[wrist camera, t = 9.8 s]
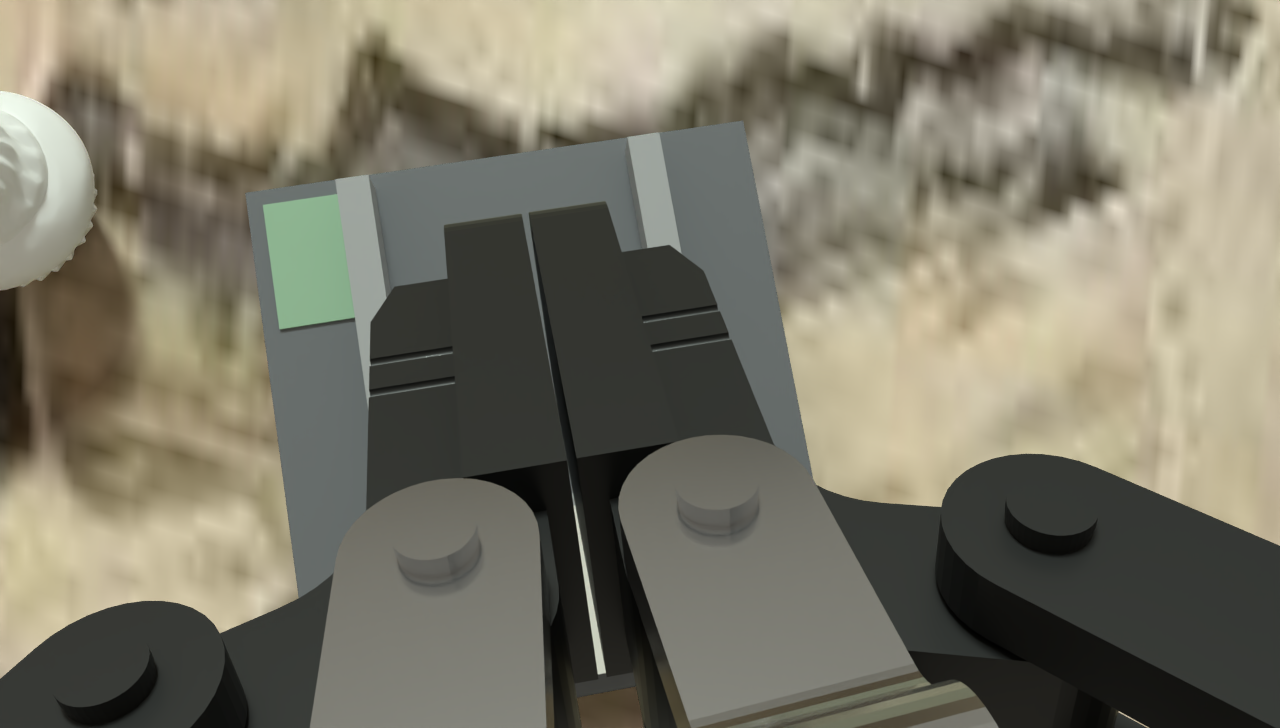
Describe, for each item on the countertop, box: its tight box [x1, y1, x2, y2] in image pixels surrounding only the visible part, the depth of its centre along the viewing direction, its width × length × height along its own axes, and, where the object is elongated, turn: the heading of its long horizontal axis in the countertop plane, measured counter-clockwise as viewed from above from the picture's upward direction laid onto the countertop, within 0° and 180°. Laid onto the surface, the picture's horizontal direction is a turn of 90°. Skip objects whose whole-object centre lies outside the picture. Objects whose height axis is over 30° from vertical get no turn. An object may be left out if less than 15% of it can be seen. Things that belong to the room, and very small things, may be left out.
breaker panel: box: [245, 121, 813, 697], centre depth 37 cm, size 16×17×4 cm
